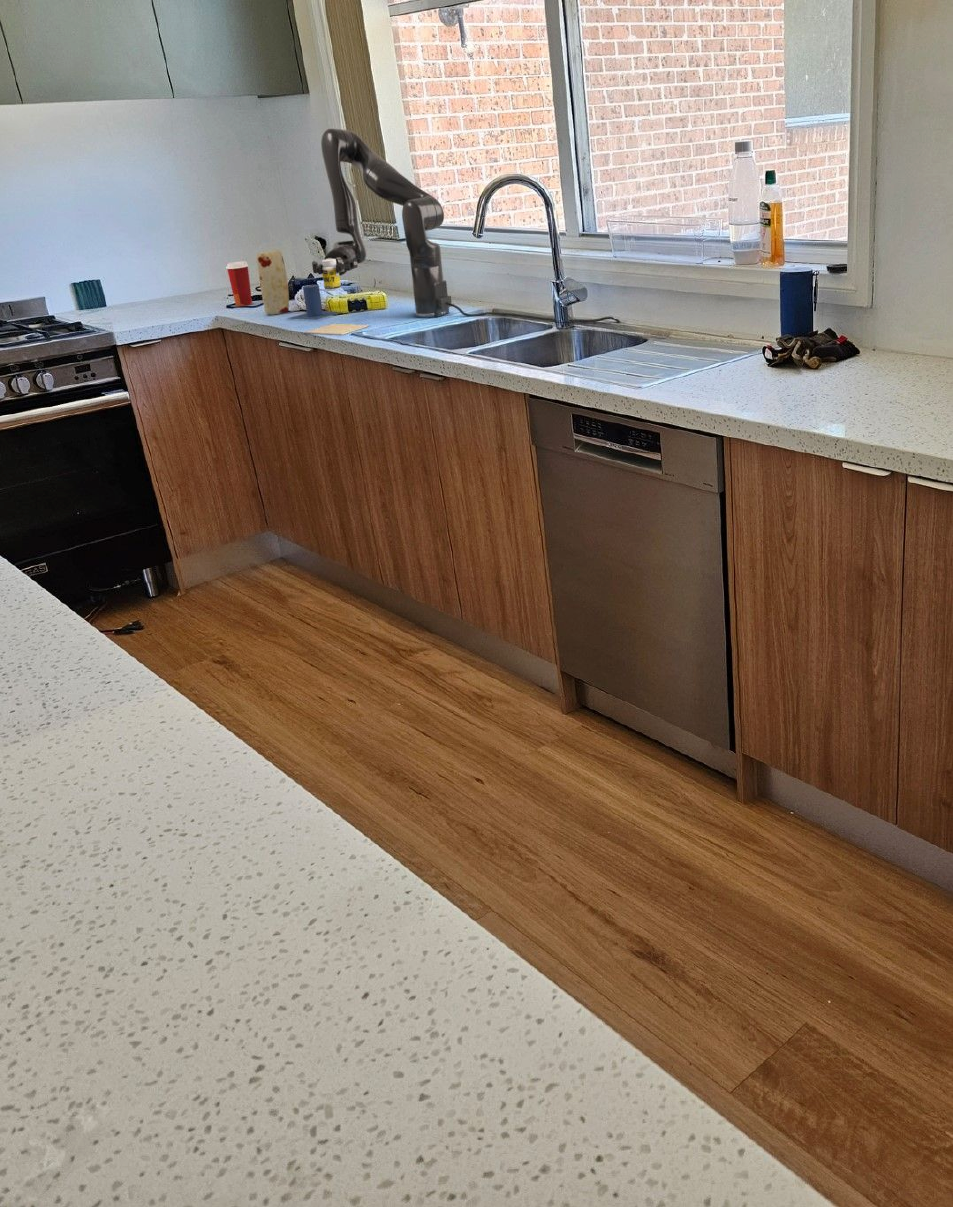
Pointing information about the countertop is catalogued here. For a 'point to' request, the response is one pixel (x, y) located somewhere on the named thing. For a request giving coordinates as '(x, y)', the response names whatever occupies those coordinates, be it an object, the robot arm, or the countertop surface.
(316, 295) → the blue rectangular block
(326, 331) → the cream mat
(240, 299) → the paper cup
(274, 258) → the food model
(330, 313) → the blue mat
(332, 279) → the supplement bottle
